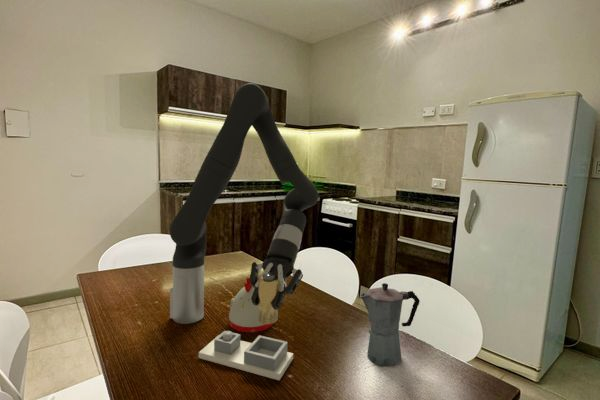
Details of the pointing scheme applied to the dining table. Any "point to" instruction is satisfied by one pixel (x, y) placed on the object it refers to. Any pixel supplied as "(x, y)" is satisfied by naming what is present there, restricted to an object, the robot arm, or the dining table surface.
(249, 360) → the white tray
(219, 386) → the dining table surface
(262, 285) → the gold bottle
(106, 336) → the dining table surface
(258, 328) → the kitchen timer
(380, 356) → the moka pot
